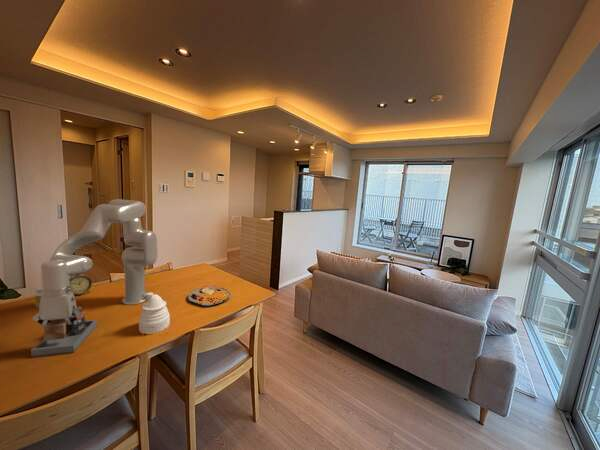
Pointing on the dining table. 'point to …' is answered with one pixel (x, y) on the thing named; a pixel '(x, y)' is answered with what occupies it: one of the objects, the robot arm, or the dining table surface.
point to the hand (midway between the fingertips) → (59, 332)
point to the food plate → (205, 290)
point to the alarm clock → (80, 283)
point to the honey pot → (154, 315)
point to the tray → (63, 342)
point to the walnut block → (55, 329)
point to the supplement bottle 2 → (78, 324)
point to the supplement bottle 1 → (38, 296)
